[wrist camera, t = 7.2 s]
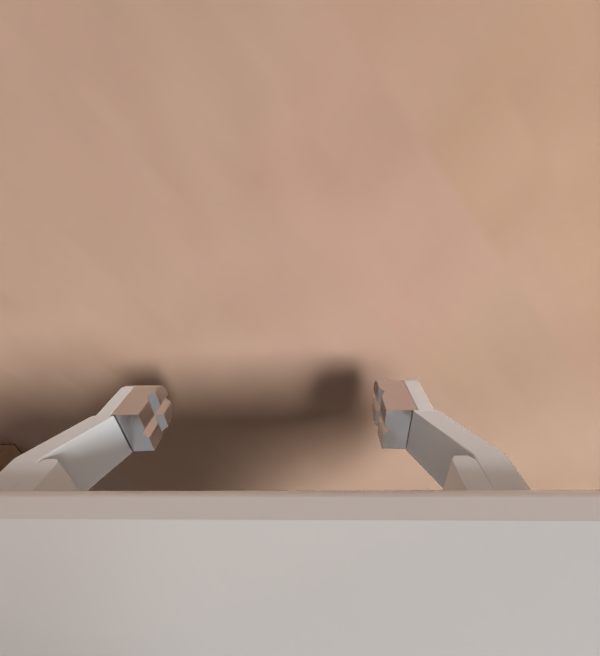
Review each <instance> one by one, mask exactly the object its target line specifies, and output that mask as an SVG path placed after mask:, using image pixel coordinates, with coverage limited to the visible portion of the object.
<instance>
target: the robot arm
mask: <svg viewBox="0 0 600 656" xmlns="http://www.w3.org/2000/svg"><path fill="white" fill-rule="evenodd" d="M374 392H375V395H376V396H375V397H374V398H373V404H372V406H373V416H374V421H375V424H376V425H378V436H379V440H380V443H381V447H382V448H392V449H406V450H407V451H408V452H409V453H410V454H411V455H412V457H413V458H414V459H415V460H416V461H417V462H418V463H419V464H420V465H421V466H422V467H423V468H424V469H425V470H426V471H427V472H428V473H429V474H430V475H431V476H432V477H433V478H434V479H435V480H436V481H437V482H438V483H439V484H440V486H441V487H442V488H443V490H384V491H88V490H89V489H90V488H91V487H92V486H94V485H95V484H96V483H97V482H98V481H99V480H101V479H102V478H103V477H104V476H105V475H106V474H108V473H109V472H110V471H111V470H112V469H114V468H115V467H116V466H117V465H118V464H119V463H121V462H122V461H123V460H124V459H125V458H126V457H128V456H129V455H130V454H131V453H132V451H155V449H156V447H157V445H158V444H159V442H160V440H161V438H162V437H163V434H162V431H163V430H164V429H165V428H167V427H168V426H169V424H170V422H171V421H172V416H173V406H172V403H171V402H170V401H169V400H168V399H167V398H166V396H167V394H168V392H167V390H166V388H165V387H164V386H162V385H138V386H124V387H121V389H120V390H119V391H118V392H117V393H116V394H115V395H114V396H113V397H112V398H111V400H110V401H109V402H108V403H107V404H106V405H105V406H104V407H103V408H102V409H101V411H100V412H99V413H98V414H97V415H96V416H91V417H89V418H87V419H85V420H83V421H82V422H80V423H78V424H76V425H74V426H73V427H71V428H69V429H67V430H65V431H63V432H62V433H60V434H58V435H56V436H54V437H52V438H51V439H49V440H47V441H45V442H43V443H41V444H40V445H38V446H36V447H34V448H32V449H30V450H29V451H27V452H25V453H23V454H21V455H20V456H18V457H16V458H14V459H13V460H12V461H11V462H10V463H9V464H8V465H7V466H6V467H5V468H4V469H3V470H2V471H1V472H0V656H600V490H531V489H530V488H529V486H528V485H527V484H526V482H525V481H524V479H523V478H522V476H521V475H520V474H519V472H518V471H517V469H516V468H515V466H514V465H513V464H512V462H511V461H510V459H509V458H508V457H507V455H506V454H505V453H503V452H502V451H500V450H499V449H497V448H495V447H494V446H492V445H491V444H489V443H488V442H486V441H485V440H483V439H482V438H480V437H479V436H477V435H476V434H474V433H472V432H471V431H469V430H468V429H466V428H465V427H463V426H462V425H460V424H459V423H457V422H456V421H454V420H453V419H451V418H450V417H448V416H446V415H445V414H443V413H442V412H440V411H439V410H434V409H433V407H432V405H431V404H430V402H429V400H428V398H427V396H426V394H425V393H424V391H423V389H422V387H421V385H420V383H419V381H418V380H417V379H404V380H382V381H375V383H374Z"/></svg>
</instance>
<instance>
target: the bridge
mask: <svg viewBox="0 0 600 656" xmlns="http://www.w3.org/2000/svg"><path fill="white" fill-rule="evenodd" d="M20 455H21V453H20V451H19V450H18V449H17V448H16V446H15V445H0V472H1V471H2V470H3V469H4V468H5V467H6V466H7V465H8V464H9V463H10V462H11V461H12V460H13V459H14V458H16V457H18V456H20Z"/></svg>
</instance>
